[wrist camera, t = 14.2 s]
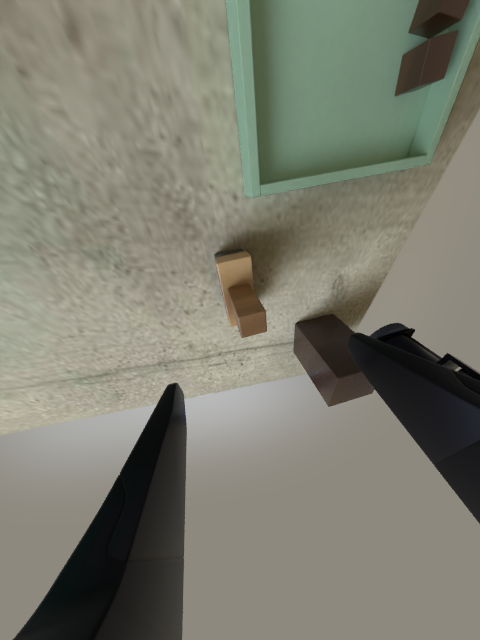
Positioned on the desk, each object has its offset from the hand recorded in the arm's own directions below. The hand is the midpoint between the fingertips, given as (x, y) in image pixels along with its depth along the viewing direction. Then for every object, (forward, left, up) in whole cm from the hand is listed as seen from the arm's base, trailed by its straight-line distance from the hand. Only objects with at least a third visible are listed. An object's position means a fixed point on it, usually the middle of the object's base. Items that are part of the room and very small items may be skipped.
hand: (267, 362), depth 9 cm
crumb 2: (-13, -11, -9) cm, 19 cm away
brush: (0, 0, -10) cm, 10 cm away
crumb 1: (-13, -13, -9) cm, 21 cm away
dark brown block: (-9, +10, -10) cm, 16 cm away
